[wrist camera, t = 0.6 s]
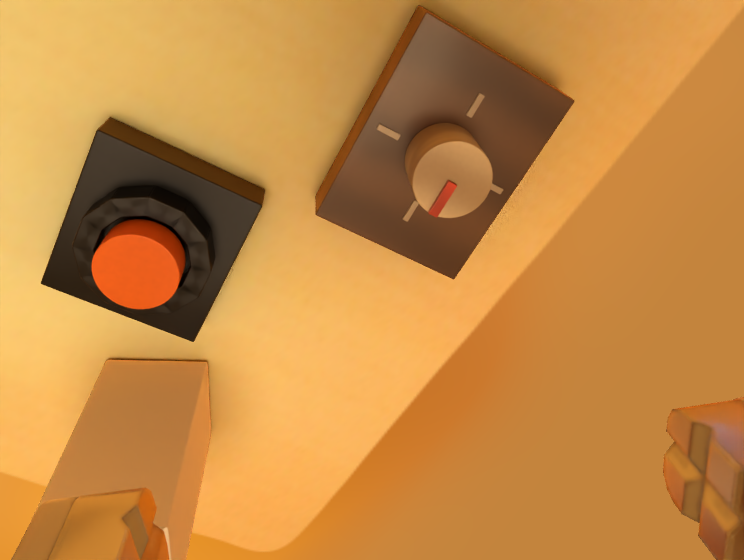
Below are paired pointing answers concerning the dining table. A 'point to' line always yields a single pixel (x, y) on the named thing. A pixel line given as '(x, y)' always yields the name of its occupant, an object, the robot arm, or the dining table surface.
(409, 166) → the dial knob
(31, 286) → the dining table surface
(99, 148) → the button base
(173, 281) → the round orange button
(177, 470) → the milk carton
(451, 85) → the dial panel
